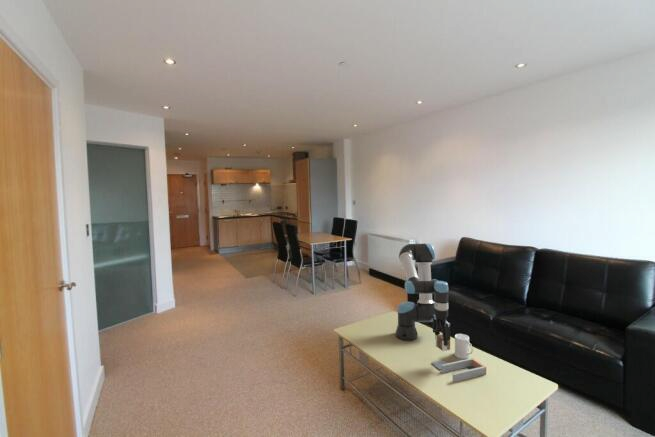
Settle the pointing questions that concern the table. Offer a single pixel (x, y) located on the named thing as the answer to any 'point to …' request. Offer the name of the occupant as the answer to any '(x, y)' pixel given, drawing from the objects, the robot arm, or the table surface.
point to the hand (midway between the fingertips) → (441, 348)
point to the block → (439, 342)
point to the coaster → (438, 364)
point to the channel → (471, 364)
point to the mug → (462, 346)
